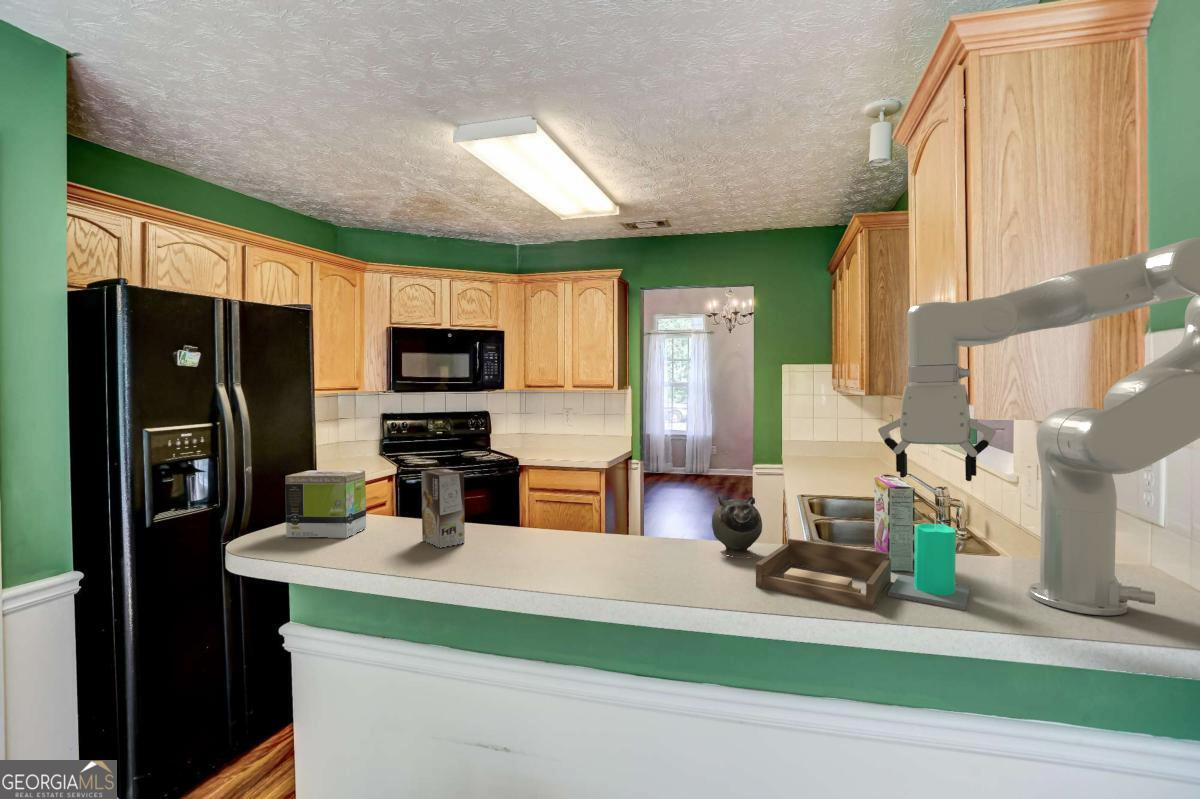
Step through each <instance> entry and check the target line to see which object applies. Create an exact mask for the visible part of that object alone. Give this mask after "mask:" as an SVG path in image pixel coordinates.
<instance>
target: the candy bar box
mask: <svg viewBox="0 0 1200 799" xmlns="http://www.w3.org/2000/svg"><path fill="white" fill-rule="evenodd" d="M873 481H874V482H873V484H874V485H873V486H874V489H873V490H874V493H873V494H874V498H873V499H874V502H873V504H874V506H873V507H874V508H873V509H874V510H873V511H874V516H873V517H874V524H873V525H874V529H873V530H874V533H873V534H874V536H873V537H874V540H873V541H874V550H873V551H879V552H885V553H888V559H891V572H893V573H894V572H899V573H915V527H916V526H915V525H916V524H915V522H916V521H915V520H916V519H915V517H916V516H915V515H916V514H915V512H916V511H915V510H916V509H915V499H916V498H915V496H916V495H915V494H916V493H915V492H916V491H915V490H916V487H915V486H913V485H910V483H908V482H905V481H904V480H902V479H901V478H900V477H887V476H886V477H882V476H878V477H874V478H873Z"/></svg>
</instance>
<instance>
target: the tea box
mask: <svg viewBox="0 0 1200 799" xmlns="http://www.w3.org/2000/svg"><path fill="white" fill-rule="evenodd" d="M284 483H285V485H284V486H285V490H284V491H285V526H286V527H285V528H286V531H285V532H286V538H309V537H328V538H327V539H331V538H332V539H348V538H350V537H349V536H351V535H353V534H355V533H357V532H359V531H360V530H362V529H365V528H366V529H367V501H366V500H367V497H366V495H367V494H366V470H360V469H359V470H357V469H356V470H354V469H353V470H339V469H338V470H335V469H334V470H330V469H329V470H305V471H301V472H297V473H292V474H288V475H285V482H284ZM366 529H365V530H366ZM359 533H360V532H359ZM357 534H358V533H357ZM355 535H356V534H355ZM353 536H354V535H353ZM347 537H348V538H347ZM351 537H352V536H351Z"/></svg>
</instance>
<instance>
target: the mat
mask: <svg viewBox="0 0 1200 799" xmlns="http://www.w3.org/2000/svg"><path fill="white" fill-rule="evenodd" d="M914 577H915V576H911V575H904V574H898V576H897V577H896V578H895V580H894V582H893V583H892V586H891V587H890V589H889V590H888V597H890V598H895V597H897V598H896V599H900V598H903V599H902V600H906V599H908V601H911V600H914V601H913V602H917V601H920V602H919V603H922V602H925V603H924V604H927V603H929V605H934V606H940V607H945V608H951V609H955V610H961V611H966V610H967V606H968V601H969V596H970V591H971V586H970V585H967V584H960V583H955V593H954V594H953V595H934V594H929V593H924V592H922V591H920V590H917V589H916V588H915V587H914Z"/></svg>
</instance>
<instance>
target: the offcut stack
mask: <svg viewBox="0 0 1200 799" xmlns="http://www.w3.org/2000/svg"><path fill="white" fill-rule="evenodd" d="M783 579H788V580H793V581H798V582H804V583H809V584H814V585H820V586H825V587H831V588H836V589H841V590H847V591H852V592H857V593H862V588H860V587H854V586H853V578H852V577H847V576H842V575H841V576H840V575H836V574H829V573H823V572H818V571H817V572H816V571H812V570H805V569H800V568H794V567H790V568H789V569H788V570H786V571H785V572H784V573H783Z"/></svg>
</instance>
